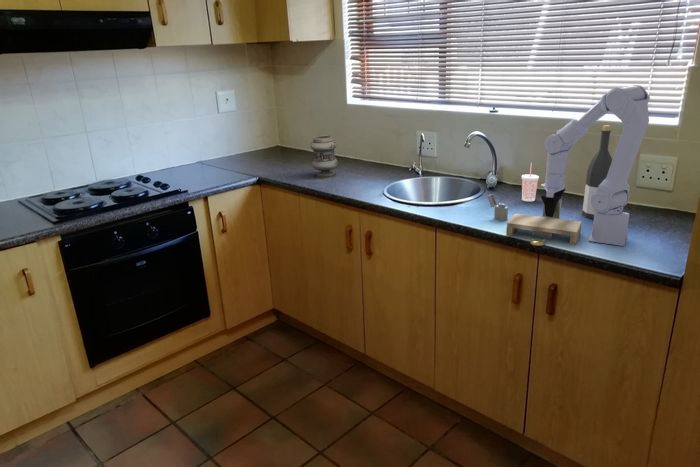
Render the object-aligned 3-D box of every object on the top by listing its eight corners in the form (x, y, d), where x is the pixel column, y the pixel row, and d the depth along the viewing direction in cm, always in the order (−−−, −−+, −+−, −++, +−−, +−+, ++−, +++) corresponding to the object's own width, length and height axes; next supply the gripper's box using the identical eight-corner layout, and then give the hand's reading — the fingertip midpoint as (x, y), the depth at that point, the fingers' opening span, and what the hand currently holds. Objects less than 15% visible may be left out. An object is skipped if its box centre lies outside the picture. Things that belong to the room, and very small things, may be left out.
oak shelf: (580, 233, 162) (581, 221, 161) (575, 244, 154) (576, 232, 153) (514, 225, 172) (514, 213, 170) (506, 235, 164) (507, 222, 162)
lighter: (507, 219, 177) (509, 196, 175) (505, 220, 176) (506, 197, 174) (488, 215, 182) (489, 193, 179) (486, 216, 181) (487, 194, 178)
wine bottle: (576, 213, 180) (587, 125, 169) (595, 210, 182) (606, 122, 172) (594, 220, 173) (606, 128, 162) (613, 217, 175) (626, 126, 165)
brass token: (545, 243, 157) (546, 239, 157) (543, 247, 154) (543, 244, 154) (531, 241, 159) (532, 238, 159) (529, 245, 156) (529, 242, 156)
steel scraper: (560, 222, 173) (562, 199, 170) (551, 238, 160) (553, 213, 157) (542, 220, 175) (544, 197, 172) (532, 235, 163) (534, 210, 160)
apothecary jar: (309, 174, 248) (307, 135, 242) (334, 171, 251) (332, 133, 245) (316, 180, 237) (313, 139, 231) (341, 176, 240) (339, 137, 234)
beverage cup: (518, 201, 196) (520, 164, 191) (521, 196, 201) (524, 160, 196) (535, 202, 193) (538, 165, 188) (538, 198, 198) (541, 161, 193)
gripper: (546, 166, 175) (543, 205, 180) (537, 176, 163) (534, 217, 168) (569, 167, 172) (565, 207, 176) (561, 178, 160) (557, 220, 165)
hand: (551, 212), depth 172 cm, fingers open, 7 cm apart
